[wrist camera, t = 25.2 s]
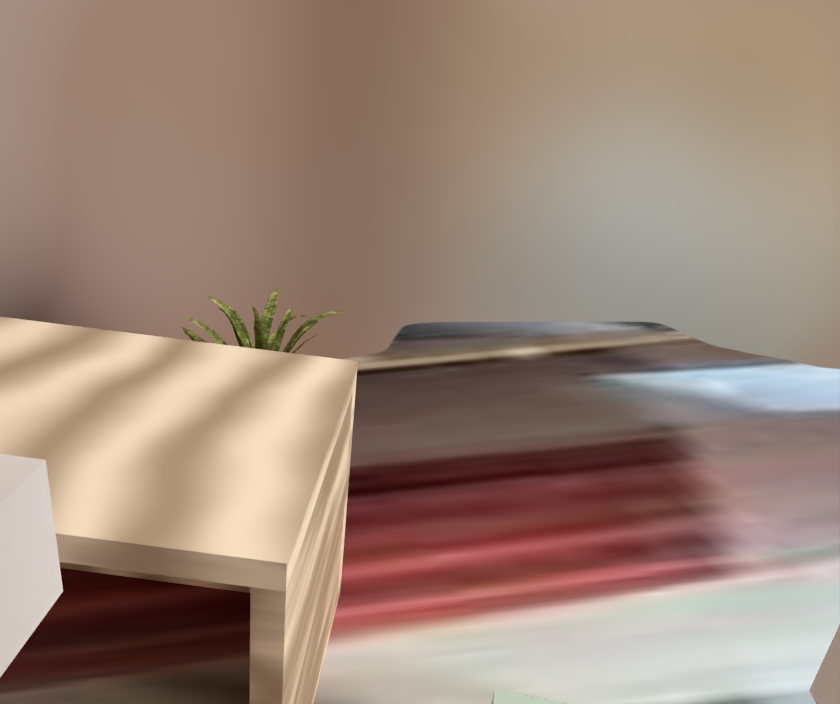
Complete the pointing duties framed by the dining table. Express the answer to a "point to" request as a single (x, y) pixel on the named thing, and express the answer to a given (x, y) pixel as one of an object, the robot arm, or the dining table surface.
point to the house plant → (259, 327)
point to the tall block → (518, 698)
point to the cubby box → (194, 473)
